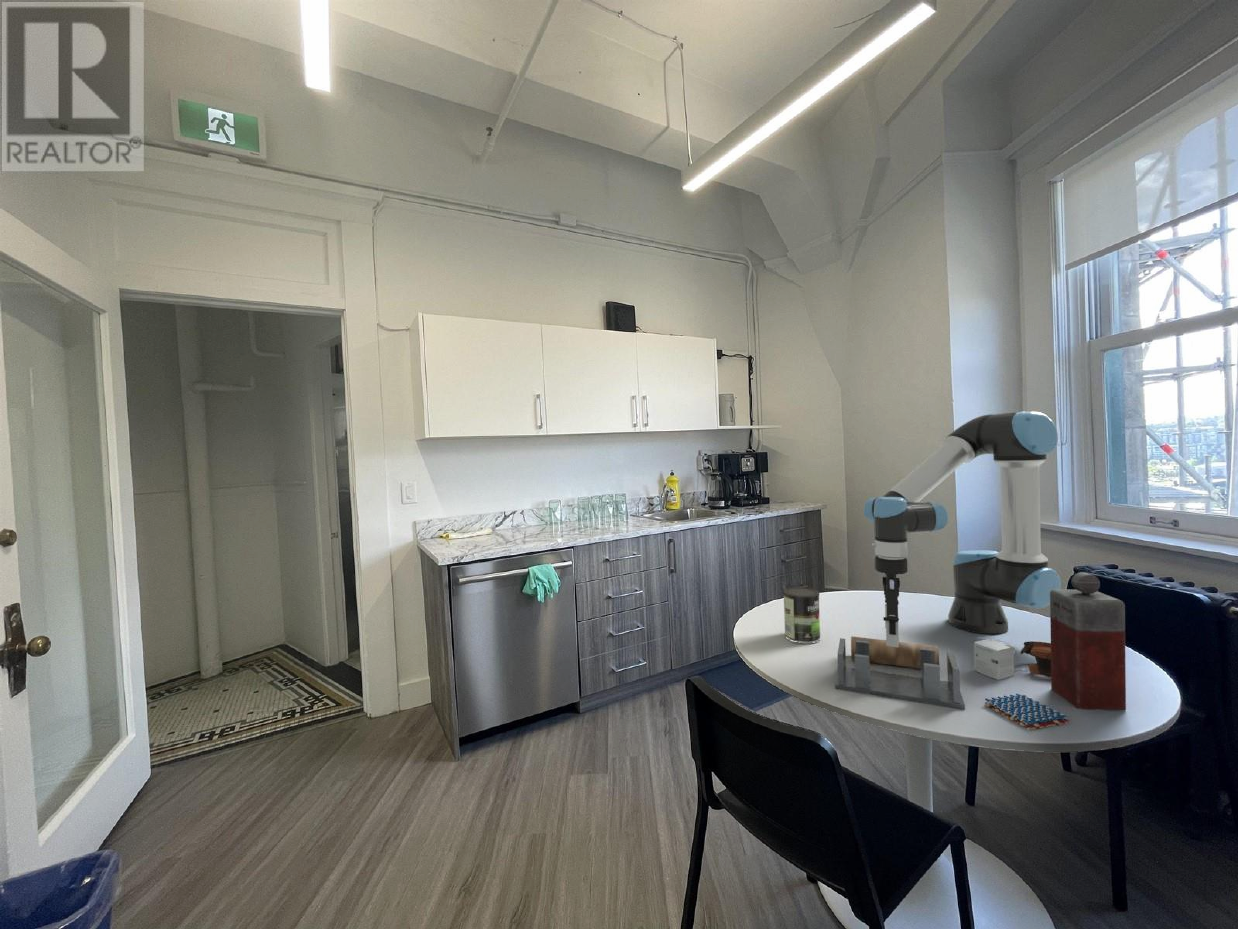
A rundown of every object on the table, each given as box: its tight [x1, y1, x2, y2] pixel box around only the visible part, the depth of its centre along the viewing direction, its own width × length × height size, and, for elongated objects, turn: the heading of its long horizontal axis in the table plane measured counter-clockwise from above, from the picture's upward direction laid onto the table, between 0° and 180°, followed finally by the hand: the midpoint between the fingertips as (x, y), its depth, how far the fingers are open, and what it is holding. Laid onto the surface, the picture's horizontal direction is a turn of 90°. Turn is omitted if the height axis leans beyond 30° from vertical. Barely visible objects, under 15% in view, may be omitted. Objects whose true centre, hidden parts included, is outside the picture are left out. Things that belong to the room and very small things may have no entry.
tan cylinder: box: [850, 636, 940, 670], centre depth 134 cm, size 20×6×6 cm, turn 63°
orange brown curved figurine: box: [1020, 640, 1051, 678], centre depth 125 cm, size 12×10×8 cm
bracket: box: [834, 637, 966, 710], centre depth 121 cm, size 26×11×8 cm, turn 63°
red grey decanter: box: [1049, 572, 1127, 711], centre depth 113 cm, size 9×11×28 cm
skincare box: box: [973, 638, 1015, 681], centre depth 126 cm, size 6×6×7 cm
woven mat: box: [984, 693, 1070, 730], centre depth 107 cm, size 10×11×2 cm
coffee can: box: [782, 586, 821, 644], centre depth 154 cm, size 10×10×14 cm
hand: (891, 637), depth 133 cm, fingers open, 13 cm apart
